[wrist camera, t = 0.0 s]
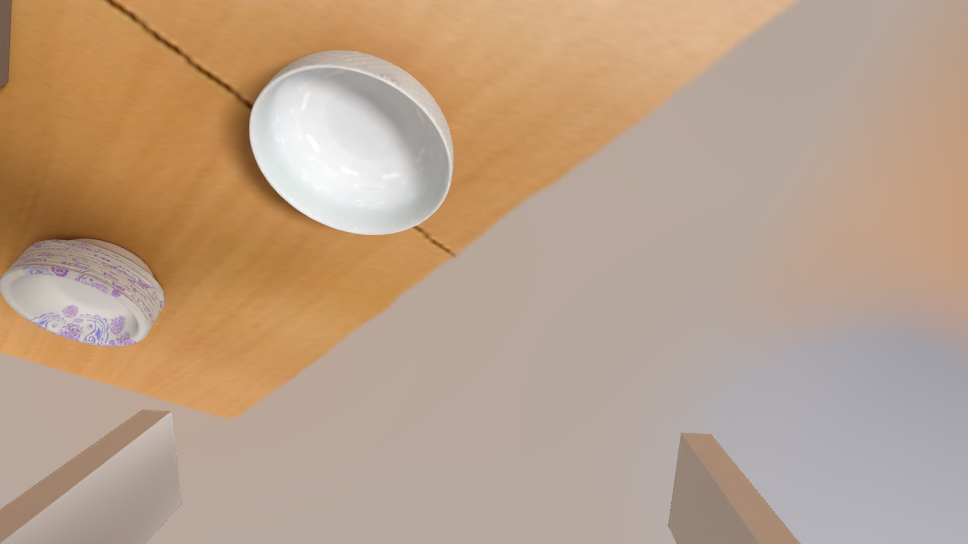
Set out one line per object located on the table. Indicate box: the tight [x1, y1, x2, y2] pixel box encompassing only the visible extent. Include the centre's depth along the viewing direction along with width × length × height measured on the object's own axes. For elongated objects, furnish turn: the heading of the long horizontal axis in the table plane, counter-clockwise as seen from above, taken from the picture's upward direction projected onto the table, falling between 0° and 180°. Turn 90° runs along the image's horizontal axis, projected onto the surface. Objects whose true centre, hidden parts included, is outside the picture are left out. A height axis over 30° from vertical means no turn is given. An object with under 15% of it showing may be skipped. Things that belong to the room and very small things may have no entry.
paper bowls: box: [0, 239, 165, 346], centre depth 60 cm, size 15×15×8 cm
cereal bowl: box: [249, 50, 454, 235], centre depth 43 cm, size 17×17×7 cm
